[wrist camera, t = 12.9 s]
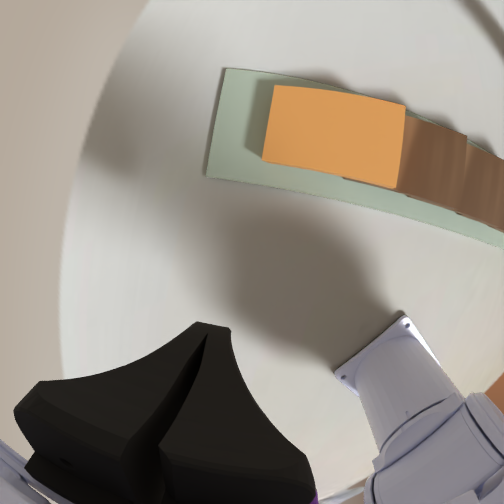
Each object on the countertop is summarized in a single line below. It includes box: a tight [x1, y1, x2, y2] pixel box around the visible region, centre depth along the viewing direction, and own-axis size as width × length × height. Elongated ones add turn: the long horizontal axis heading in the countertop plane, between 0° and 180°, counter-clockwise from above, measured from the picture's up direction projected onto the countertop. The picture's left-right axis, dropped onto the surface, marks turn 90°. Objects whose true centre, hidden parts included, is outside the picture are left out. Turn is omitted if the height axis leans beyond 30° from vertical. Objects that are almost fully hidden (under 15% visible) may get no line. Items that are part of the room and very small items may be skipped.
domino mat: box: [206, 68, 504, 249], centre depth 17 cm, size 34×8×1 cm, turn 80°
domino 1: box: [343, 115, 467, 210], centre depth 15 cm, size 2×5×8 cm
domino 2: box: [407, 144, 504, 228], centre depth 15 cm, size 2×5×8 cm
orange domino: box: [262, 85, 406, 189], centre depth 15 cm, size 2×5×8 cm
